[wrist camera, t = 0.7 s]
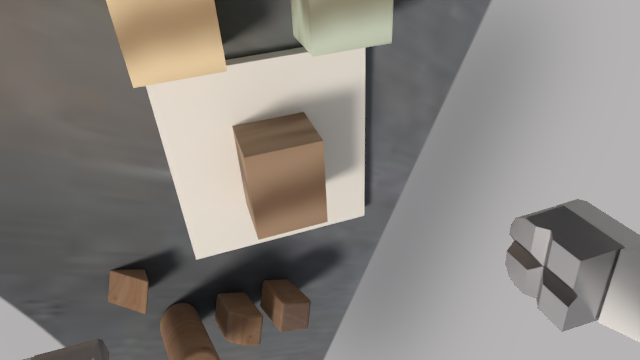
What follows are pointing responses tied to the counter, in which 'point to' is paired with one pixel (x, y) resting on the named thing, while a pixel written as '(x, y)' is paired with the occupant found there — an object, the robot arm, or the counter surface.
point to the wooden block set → (231, 314)
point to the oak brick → (168, 39)
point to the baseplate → (250, 106)
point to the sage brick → (341, 24)
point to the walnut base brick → (282, 173)
